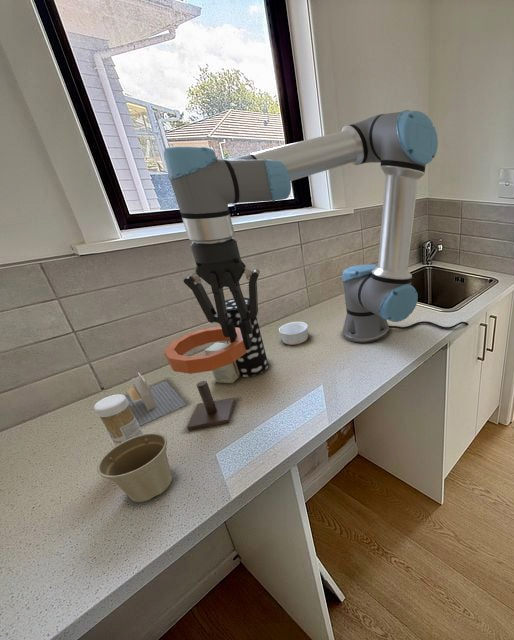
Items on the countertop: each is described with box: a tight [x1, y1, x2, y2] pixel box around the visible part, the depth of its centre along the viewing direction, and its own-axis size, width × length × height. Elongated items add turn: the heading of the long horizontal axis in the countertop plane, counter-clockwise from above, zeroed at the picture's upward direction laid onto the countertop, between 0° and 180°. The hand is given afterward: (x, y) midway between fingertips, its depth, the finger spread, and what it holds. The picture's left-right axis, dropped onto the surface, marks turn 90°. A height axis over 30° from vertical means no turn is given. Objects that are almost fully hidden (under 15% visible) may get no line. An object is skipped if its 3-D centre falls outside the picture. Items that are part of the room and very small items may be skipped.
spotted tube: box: [225, 297, 269, 378], centre depth 90 cm, size 8×8×20 cm
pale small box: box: [203, 341, 241, 384], centre depth 88 cm, size 5×4×10 cm
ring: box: [163, 325, 247, 375], centre depth 71 cm, size 14×14×3 cm
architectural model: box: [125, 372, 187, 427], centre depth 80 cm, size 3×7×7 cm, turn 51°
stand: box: [186, 380, 236, 431], centre depth 76 cm, size 8×8×9 cm
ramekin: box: [278, 321, 309, 346], centre depth 109 cm, size 9×9×4 cm
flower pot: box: [96, 432, 173, 503], centre depth 59 cm, size 9×9×9 cm
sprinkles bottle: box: [93, 393, 144, 447], centre depth 65 cm, size 5×5×13 cm
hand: (242, 347), depth 73 cm, fingers closed on ring, 2 cm apart
